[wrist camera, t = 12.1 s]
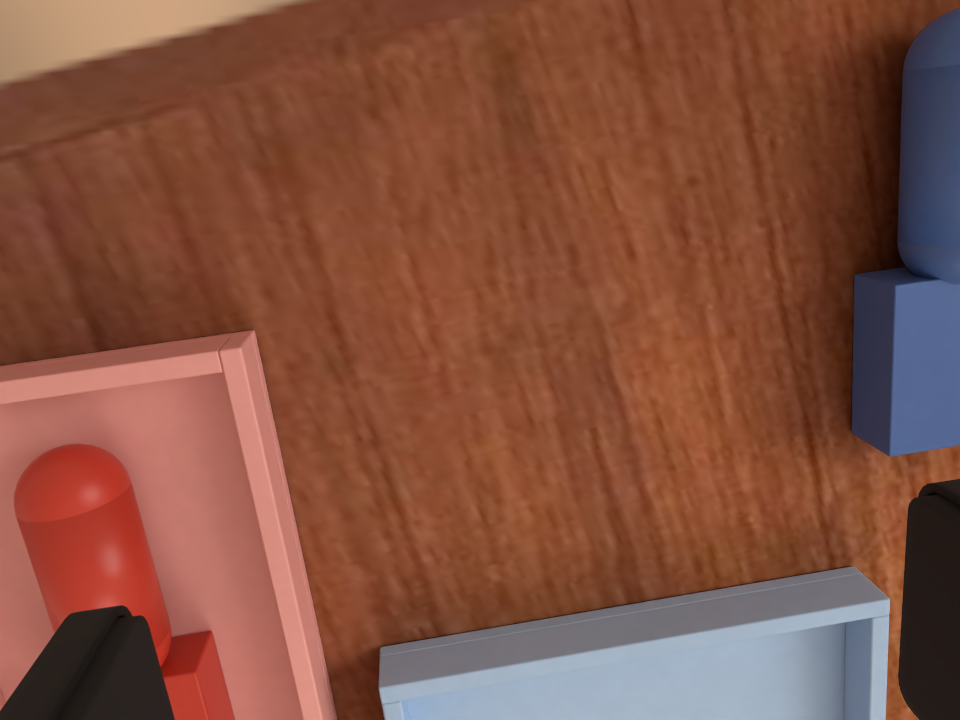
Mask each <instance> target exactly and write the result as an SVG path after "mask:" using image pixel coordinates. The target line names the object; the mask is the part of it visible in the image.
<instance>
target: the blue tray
mask: <svg viewBox="0 0 960 720" xmlns="http://www.w3.org/2000/svg"><path fill="white" fill-rule="evenodd" d="M889 612H890V599H889V598H888V597H887V596H886V595H885V594H884V593H883V592H882V591H881V590H879V589H878V588H877V587H876V586H875V585H874V584H873V583H872V582H871V581H870V580H869V579H868V578H866V577H865V576H864V575H863V574H862V573H861V572H860V571H859V570H858V569H857V568H856V567H854V566H851V567H846V568H840V569H834V570H828V571H822V572H816V573H811V574H805V575H799V576H793V577H787V578H781V579H776V580H770V581H764V582H758V583H752V584H746V585H741V586H735V587H729V588H723V589H717V590H711V591H706V592H700V593H694V594H688V595H682V596H676V597H671V598H665V599H659V600H653V601H647V602H641V603H635V604H630V605H624V606H618V607H612V608H606V609H600V610H595V611H589V612H583V613H577V614H571V615H565V616H560V617H554V618H548V619H542V620H536V621H530V622H525V623H519V624H513V625H507V626H501V627H495V628H490V629H484V630H478V631H472V632H466V633H460V634H454V635H449V636H443V637H437V638H431V639H425V640H419V641H414V642H408V643H402V644H396V645H390V646H384V647H381V648H380V663H379V693H380V699H381V703H382V709H383V714H384V719H385V720H885V716H886V688H887V660H888V632H889Z"/></svg>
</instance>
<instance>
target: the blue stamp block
mask: <svg viewBox="0 0 960 720" xmlns="http://www.w3.org/2000/svg"><path fill="white" fill-rule="evenodd" d="M897 244H898V250H899V254H900V257H901V259H902V260H903V262H904V264H905V265H906V267H901V268H894V269H887V270H880V271H873V272H866V273H859V274H855V275H854V325H853V382H852V433H853V434H855V435H856V436H858V437H859V438H861V439H863V440H864V441H866V442H867V443H869V444H870V445H872V446H874V447H875V448H877V449H878V450H880V451H882V452H883V453H885V454H886V455H888V456H897V455H903V454H909V453H915V452H921V451H927V450H934V449H940V448H946V447H952V446H958V445H960V9H956V10H953V11H951V12H948V13H946V14H944V15H942V16H940V17H939V18H937V19H936V20H934V21H932V22H931V23H930V24H929V25H927V26H926V27H925V28H924V29H923V30H922V31H921V32H920V33H919V35H918V36H917V37H916V38H915V39H914V41H913V43H912V44H911V46H910V48H909V50H908V52H907V55H906V58H905V61H904V66H903V81H902V111H901V141H900V171H899V201H898V231H897Z"/></svg>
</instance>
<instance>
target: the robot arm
mask: <svg viewBox="0 0 960 720" xmlns="http://www.w3.org/2000/svg"><path fill="white" fill-rule="evenodd" d="M898 678H899V686H900V690H901V693H902V695H903V698H904V700H905V702H906V703H907V705H908V707H909V708H910V709H911V711H912V712H913V713H914V714H915V715H916V716H917V717H918V719H919V720H960V479H957V480H950V481H944V482H937V483H930V484H927V485H925V486H924V487H922V489H921V491H920V493H919V496H918V497H917V498H914V499H913V500H912V501H911V503H910V504H909V508H908V519H907V536H906V553H905V570H904V587H903V604H902V621H901V638H900V656H899V673H898ZM0 720H175V718H174V714H173V710H172V707H171V703H170V700H169V696H168V692H167V689H166V685H165V682H164V678H163V674H162V671H161V667H160V663H159V660H158V656H157V653H156V649H155V645H154V642H153V638H152V635H151V631H150V627H149V625H148V622H147V620H146V619H145V617H144V616H141V615H138V616H132V614H131V612H130V611H129V609H128V608H127V607H125V606H123V605H120V606H113V607H106V608H100V609H93V610H86V611H80V612H74V613H71V614H69V615H68V616H67V617H66V618H65V619H64V621H63V622H62V624H61V625H60V627H59V628H58V629H57V631H56V632H55V634H54V635H53V636H52V638H51V639H50V641H49V642H48V644H47V645H46V646H45V648H44V649H43V651H42V652H41V654H40V655H39V656H38V658H37V659H36V661H35V662H34V663H33V665H32V666H31V668H30V669H29V671H28V672H27V673H26V675H25V676H24V678H23V679H22V680H21V682H20V683H19V685H18V686H17V688H16V689H15V690H14V692H13V693H12V695H11V696H10V698H9V699H8V700H7V702H6V703H5V705H4V706H3V707H2V709H1V710H0Z"/></svg>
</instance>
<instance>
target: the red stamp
mask: <svg viewBox="0 0 960 720" xmlns="http://www.w3.org/2000/svg"><path fill="white" fill-rule="evenodd" d="M14 508H15V513H16V518H17V521H18V524H19V527H20V530H21V533H22V536H23V539H24V542H25V545H26V548H27V551H28V554H29V557H30V560H31V564H32V567H33V570H34V573H35V576H36V579H37V582H38V585H39V588H40V591H41V594H42V597H43V600H44V603H45V606H46V609H47V612H48V615H49V618H50V621H51V624H52V627H53V630H54V633H55V632H56V631H57V629H58V628H59V627H60V625H61V624H62V622H63V621H64V619H65V618H66V617H67V616H68V615H69V614H71V613H74V612H80V611H86V610H93V609H100V608H106V607H113V606H120V605H123V606H125V607H127V608H128V609H129V611H130V612H131V614H132V616H138V615H141V616H144V617H145V619H146V620H147V622H148V625H149V627H150V631H151V635H152V638H153V642H154V645H155V649H156V653H157V656H158V660H159V663H160V667H161V671H162V674H163V678H164V682H165V685H166V689H167V692H168V696H169V700H170V703H171V707H172V710H173V714H174V718H175V720H235V717H234V713H233V710H232V706H231V702H230V698H229V694H228V690H227V687H226V683H225V679H224V675H223V671H222V667H221V663H220V660H219V656H218V652H217V648H216V644H215V640H214V637H213V633H212V631H205V632H199V633H193V634H187V635H181V636H175V637H172V631H171V624H170V620H169V616H168V613H167V609H166V606H165V602H164V598H163V595H162V591H161V588H160V584H159V580H158V577H157V573H156V570H155V566H154V562H153V559H152V555H151V552H150V548H149V544H148V541H147V537H146V534H145V530H144V526H143V523H142V519H141V515H140V512H139V508H138V505H137V501H136V497H135V494H134V490H133V487H132V483H131V480H130V477H129V475H128V472H127V470H126V469H125V467H124V466H123V465H122V463H121V462H120V461H119V460H118V459H117V458H116V457H115V456H114V455H113V454H111V453H109V452H107V451H106V450H104V449H102V448H99V447H96V446H93V445H87V444H69V445H63V446H59V447H56V448H53V449H51V450H48V451H46V452H44V453H43V454H41V455H40V456H39V457H37V458H36V459H35V460H33V461H32V462H31V463H30V464H29V465H28V467H27V468H26V469H25V470H24V471H23V473H22V475H21V477H20V478H19V480H18V482H17V485H16V489H15V492H14Z"/></svg>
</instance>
